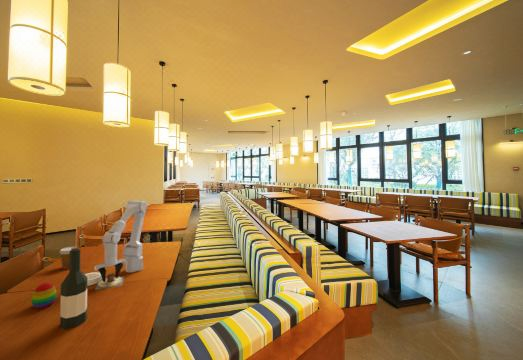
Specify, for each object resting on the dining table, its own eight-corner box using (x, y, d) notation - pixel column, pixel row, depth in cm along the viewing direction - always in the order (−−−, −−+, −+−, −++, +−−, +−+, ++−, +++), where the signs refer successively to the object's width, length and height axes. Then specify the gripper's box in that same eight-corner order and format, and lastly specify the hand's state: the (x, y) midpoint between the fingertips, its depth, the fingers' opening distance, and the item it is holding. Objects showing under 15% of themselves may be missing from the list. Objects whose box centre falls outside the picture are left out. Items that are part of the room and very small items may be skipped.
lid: (122, 276, 129) (123, 269, 129) (121, 284, 119) (121, 276, 119) (99, 280, 123) (99, 272, 123) (96, 289, 114) (96, 280, 114)
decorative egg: (44, 299, 105) (44, 278, 105) (61, 300, 105) (61, 279, 105) (25, 309, 97) (26, 287, 97) (43, 310, 97) (44, 287, 97)
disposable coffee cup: (67, 271, 137) (67, 251, 136) (54, 269, 138) (55, 250, 138) (82, 265, 146) (82, 247, 146) (70, 263, 148) (71, 245, 148)
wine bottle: (70, 316, 93) (72, 245, 93) (91, 315, 94) (93, 245, 94) (54, 329, 85) (55, 251, 85) (77, 328, 86) (78, 251, 86)
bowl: (102, 277, 129) (102, 271, 128) (99, 285, 120) (99, 278, 120) (80, 281, 124) (80, 274, 124) (75, 289, 115) (75, 282, 115)
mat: (124, 277, 129) (124, 276, 129) (122, 286, 119) (122, 285, 119) (98, 282, 124) (98, 280, 124) (94, 291, 113) (94, 290, 113)
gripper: (122, 249, 129) (122, 272, 129) (92, 256, 118) (91, 281, 118) (127, 252, 125) (127, 276, 125) (97, 259, 113) (96, 286, 113)
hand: (110, 279), depth 121 cm, fingers open, 5 cm apart
